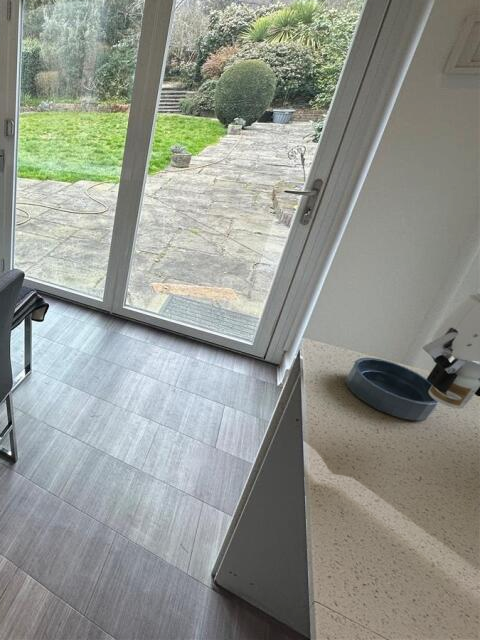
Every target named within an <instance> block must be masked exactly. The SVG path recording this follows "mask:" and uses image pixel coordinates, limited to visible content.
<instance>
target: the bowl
mask: <svg viewBox="0 0 480 640" xmlns="http://www.w3.org/2000/svg"><path fill="white" fill-rule="evenodd" d="M345 384H346V386H347V387H348V389H349V390H350V391H351V392H352V393H353V394H354V395H355V396H356V397H357V398H359V399H360V400H361V401H363V402H364V403H366V404H367V405H369V406H371V407H373V408H375V409H376V410H378V411H381V412H383V413H385V414H388V415H391V416H393V417H395V418H396V417H397V418H400V419H404V420H411V421H424V420H427V419H429V418H431V416H432V415H433V414H434V412H435V411H436V410H437V408H438V407H439V405H440V404H441V403H440V402H438V401H436V400H434V399H433V398H432V397H431V396H430V394H429V389H430V388H431V386H432V384H431V383H429V382H428V381H427V377H425V376H423V375H422V374H420V373H418V372H417V371H414V370H412V369H410V368H408V367H406V366H404V365H400V364H398V363H396V362H392V361H388V360H386V359H381V358H375V357H360V358H359V359H357V360H355V361H354V362H353V364H352V366H351V368H350V370H349V371H348V373H347V374H346V377H345Z"/></svg>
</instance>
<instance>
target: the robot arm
mask: <svg viewBox="0 0 480 640" xmlns="http://www.w3.org/2000/svg"><path fill="white" fill-rule="evenodd" d="M422 349H423V350H424V352H426V353H427V354H428V355H430V357H431V358H432V359H433V363H435V365H434V367H433V368H432V370H431V371H430V373H429V375H428V376H427V377H426V379H427V381H428V382H429V383H431V384H432V385H433V386H434V387H435V388H436V389H437V390H439V391H440V392H446V391H447V390H448V389H449V387H450V386H451V385H452V383H453V382H454V380H455V379H456V377H457V374H456V373H454V372H456V371H457V370H458V369H459V368H460V367H461V366H462V365H463V364H465V363H466V362H467V361H468V360H469V361H473V362H479V363H480V288H479V289H478V290H477V292H476V293H475V294H469V295H468V296H466V297H465V298H464V299H463V300H462V301H461V302H459V304H457V306H455V308H454V309H452V311H451V312H450V313H449V314H448V315H447V317H446V318H445V319H444V320H443V322H442V323H441V325H440V326H439V327H438V328H437V330H436V331H435V333H434V335H433V337H432V341H430V342H429V343H427V344H425V345H424V346H423V347H422ZM451 357H452V358H454V359H453V360H452V361H450V360H449V359H450V358H451ZM479 380H480V379H479ZM474 395H475V396H477V397H480V387H479V388H478V390H477V391H476V392H475V394H474Z"/></svg>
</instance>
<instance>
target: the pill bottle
mask: <svg viewBox="0 0 480 640" xmlns="http://www.w3.org/2000/svg"><path fill="white" fill-rule="evenodd" d="M454 373H456V374H457V377H456V379H455V380H454V382H453V383H452V385H451V386H450V387H449V389H448V390H447V391H446V392H440V391H439V390H437V389H436V388H435V387H434V386H433V385H432V386H431V388H430V389H429V394H430V396H431V397H432V398H433V399H434V400H436V401H438V402H440V404H442V405H444V406H446V407H450V408H453V409H464V408H466V406H467V405H468V403H470V400H471V399H472V398H473V396H474V395H475V392H476V391H477V390H478V388H479V387H480V380H479V379H480V363H477V362H476V361H469V360H468V361H467V362H466V363H465V364H463V365H462V366H461V367H460V368H459V369H458V370H457V371H456V372H454Z"/></svg>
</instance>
